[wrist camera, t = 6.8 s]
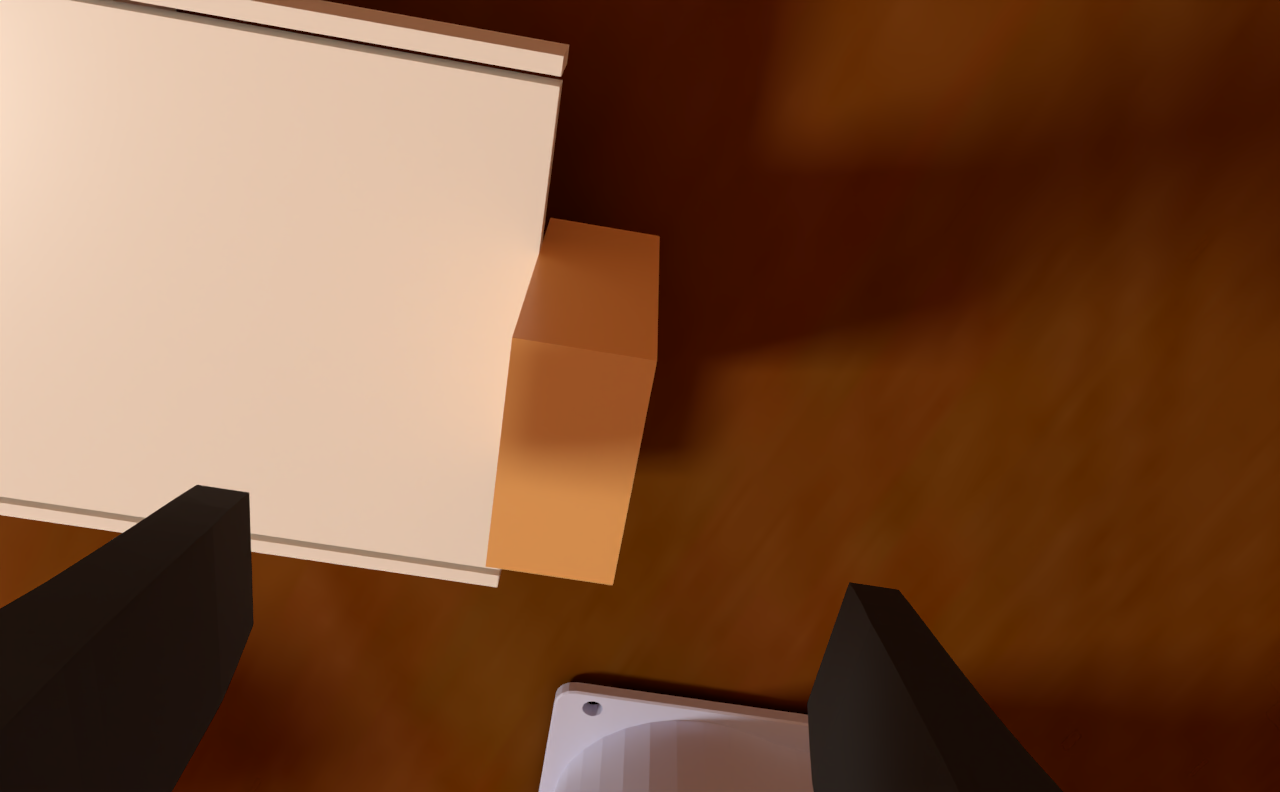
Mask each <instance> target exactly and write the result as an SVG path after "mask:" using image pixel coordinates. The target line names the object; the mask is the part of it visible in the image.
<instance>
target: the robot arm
mask: <svg viewBox="0 0 1280 792" xmlns="http://www.w3.org/2000/svg"><path fill="white" fill-rule="evenodd" d="M252 627H253V597H252V564H251V532H250V499H249V492H242V491H236V490H229V489H222V488H216V487H209V486H202V485H196V486H194V487H192V488H191V489H189V490H188V491H186V492H184V493H183V494H181V495H180V496H178V497H176V498H175V499H173V500H172V501H170V502H169V503H167V504H166V505H164V506H163V507H161V508H160V509H158V510H157V511H155V512H154V513H152V514H151V515H149V516H148V517H146V518H145V519H143V520H142V521H140V522H139V523H137V524H136V525H134V526H133V527H131V528H129V529H128V530H126V531H125V532H123V533H122V534H120V535H119V536H117V537H116V538H114V539H113V540H111V541H110V542H108V543H107V544H105V545H104V546H102V547H101V548H99V549H97V550H96V551H94V552H93V553H91V554H90V555H88V556H86V557H85V558H83V559H82V560H80V561H79V562H77V563H75V564H74V565H72V566H71V567H69V568H68V569H66V570H64V571H63V572H61V573H60V574H58V575H57V576H55V577H53V578H52V579H50V580H49V581H47V582H45V583H44V584H42V585H40V586H39V587H37V588H35V589H34V590H32V591H30V592H28V593H27V594H25V595H23V596H21V597H20V598H18V599H16V600H15V601H13V602H11V603H9V604H8V605H6V606H4V607H2V608H1V609H0V792H172V790H173V788H174V787H175V785H176V783H177V781H178V780H179V778H180V776H181V774H182V773H183V771H184V769H185V767H186V766H187V764H188V762H189V760H190V758H191V757H192V755H193V753H194V751H195V749H196V748H197V746H198V744H199V742H200V741H201V739H202V737H203V735H204V733H205V732H206V730H207V728H208V726H209V724H210V723H211V721H212V719H213V717H214V715H215V714H216V712H217V710H218V708H219V706H220V704H221V703H222V700H223V698H224V696H225V693H226V691H227V689H228V686H229V684H230V681H231V679H232V677H233V674H234V672H235V670H236V667H237V665H238V662H239V660H240V657H241V655H242V652H243V650H244V647H245V644H246V642H247V639H248V637H249V634H250V632H251V629H252ZM591 701H594V702H597V703H599V704H589V703H587V702H591ZM807 707H808V715H806V714H799V713H792V712H785V711H778V710H771V709H764V708H757V707H749V706H742V705H735V704H728V703H721V702H714V701H707V700H700V699H693V698H686V697H678V696H671V695H664V694H657V693H650V692H643V691H636V690H629V689H622V688H615V687H607V686H600V685H593V684H586V683H579V682H569V683H566V684H563V685H562V686H560V687H559V688H558V690H557V692H556V695H555V700H554V706H553V712H552V718H551V723H550V729H549V735H548V741H547V747H546V752H545V758H544V764H543V770H542V775H541V781H540V787H539V792H1063V791H1062V790H1061V789H1060V788H1059V787H1058V786H1057V785H1056V783H1055V782H1054V781H1053V780H1052V779H1051V778H1050V777H1049V776H1048V775H1047V773H1046V772H1045V771H1044V770H1043V769H1042V768H1041V767H1040V766H1039V765H1038V763H1037V762H1036V761H1035V760H1034V759H1033V758H1032V757H1031V756H1030V755H1029V753H1028V752H1027V751H1026V750H1025V749H1024V748H1023V746H1022V745H1021V744H1020V743H1019V742H1018V740H1017V739H1016V738H1015V737H1014V736H1013V735H1012V733H1011V732H1010V731H1009V730H1008V729H1007V727H1006V726H1005V725H1004V724H1003V723H1002V721H1001V720H1000V719H999V718H998V717H997V715H996V714H995V713H994V712H993V711H992V709H991V708H990V707H989V706H988V704H987V703H986V702H985V701H984V699H983V698H982V697H981V696H980V694H979V693H978V692H977V691H976V689H975V688H974V687H973V686H972V684H971V683H970V682H969V680H968V679H967V678H966V677H965V675H964V674H963V673H962V672H961V670H960V669H959V668H958V666H957V665H956V664H955V662H954V661H953V660H952V659H951V657H950V656H949V655H948V653H947V652H946V651H945V649H944V648H943V647H942V646H941V644H940V643H939V642H938V640H937V639H936V638H935V636H934V635H933V634H932V632H931V631H930V630H929V628H928V627H927V626H926V624H925V623H924V622H923V621H922V619H921V618H920V617H919V615H918V614H917V613H916V611H915V610H914V609H913V608H912V606H911V605H910V604H909V602H908V601H907V600H906V599H905V597H904V596H903V595H902V594H901V592H900V591H899V590H896V589H890V588H883V587H876V586H870V585H863V584H856V583H849V585H848V588H847V591H846V594H845V597H844V599H843V602H842V605H841V608H840V611H839V614H838V617H837V620H836V622H835V625H834V628H833V631H832V634H831V637H830V640H829V642H828V645H827V648H826V651H825V654H824V657H823V660H822V663H821V665H820V668H819V671H818V674H817V677H816V680H815V683H814V686H813V688H812V691H811V694H810V697H809V700H808V703H807Z"/></svg>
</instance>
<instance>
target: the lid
mask: <svg viewBox="0 0 1280 792" xmlns="http://www.w3.org/2000/svg"><path fill="white" fill-rule="evenodd" d="M131 1H137V2H142V3H148V4H153V5H159V6H165V7H170V8H176V9H182V10H187V11H193V12H199V13H204V14H210V15H216V16H221V17H227V18H232V19H238V20H244V21H249V22H255V23H261V24H266V25H272V26H278V27H283V28H289V29H294V30H300V31H306V32H311V33H317V34H323V35H328V36H334V37H340V38H345V39H351V40H356V41H362V42H368V43H373V44H379V45H385V46H390V47H396V48H402V49H407V50H413V51H418V52H424V53H430V54H435V55H441V56H447V57H452V58H458V59H464V60H469V61H475V62H480V63H486V64H492V65H497V66H503V67H509V68H514V69H520V70H526V71H531V72H537V73H542V74H548V75H554V76H559V77H561V76H562V74H563V72H564V69H565V67H566V65H567V60H568V52H569V45H568V44H563V43H557V42H552V41H546V40H540V39H535V38H529V37H524V36H518V35H513V34H507V33H501V32H496V31H490V30H485V29H479V28H474V27H468V26H462V25H457V24H451V23H446V22H440V21H434V20H429V19H423V18H418V17H412V16H407V15H401V14H395V13H390V12H384V11H379V10H373V9H368V8H362V7H356V6H351V5H345V4H340V3H334V2H329V1H323V0H131ZM562 83H563V80H559V79H554V78H548V77H542V76H537V75H531V74H525V73H520V72H514V71H508V70H503V69H497V68H491V67H486V66H480V65H475V64H469V63H463V62H458V61H452V60H446V59H441V58H435V57H429V56H424V55H418V54H412V53H407V52H401V51H396V50H390V49H384V48H379V47H373V46H367V45H362V44H356V43H350V42H345V41H339V40H333V39H328V38H322V37H317V36H311V35H305V34H300V33H294V32H288V31H283V30H277V29H271V28H266V27H260V26H254V25H249V24H243V23H238V22H232V21H226V20H221V19H215V18H209V17H204V16H198V15H192V14H187V13H181V12H175V11H170V10H164V9H159V8H153V7H147V6H142V5H136V4H130V3H125V2H119V1H113V0H0V515H5V516H11V517H18V518H25V519H32V520H39V521H46V522H53V523H59V524H66V525H73V526H80V527H87V528H94V529H100V530H107V531H114V532H121V533H123V532H125V531H126V530H128V529H129V528H131V527H133V526H134V525H136V524H137V523H139V522H140V521H142V520H143V519H145V518H146V517H148V516H149V515H151V514H152V513H154V512H155V511H157V510H158V509H160V508H161V507H163V506H164V505H166V504H167V503H169V502H170V501H172V500H173V499H175V498H176V497H178V496H180V495H181V494H183V493H184V492H186V491H188V490H189V489H191V488H192V487H194V486H196V485H202V486H209V487H216V488H222V489H229V490H236V491H242V492H249V499H250V532H251V552H258V553H265V554H272V555H279V556H286V557H292V558H299V559H306V560H313V561H320V562H327V563H334V564H340V565H347V566H354V567H361V568H368V569H375V570H382V571H388V572H395V573H402V574H409V575H416V576H423V577H430V578H436V579H443V580H450V581H457V582H464V583H471V584H478V585H484V586H491V587H498V582H499V578H500V574H501V569H505V570H512V571H519V572H526V573H532V574H539V575H546V576H553V577H560V578H566V579H573V580H580V581H587V582H594V583H600V584H607V585H613V581H614V576H615V571H616V566H617V561H618V556H619V551H620V546H621V541H622V536H623V531H624V526H625V521H626V516H627V511H628V506H629V501H630V496H631V491H632V486H633V480H634V475H635V470H636V465H637V460H638V455H639V450H640V445H641V440H642V435H643V430H644V425H645V420H646V415H647V410H648V405H649V400H650V395H651V390H652V385H653V380H654V374H655V369H656V364H657V345H658V296H659V247H660V236H657V235H651V234H645V233H639V232H633V231H627V230H621V229H615V228H609V227H603V226H597V225H591V224H586V223H580V222H574V221H568V220H562V219H556V218H550V220H549V224H548V227H547V230H546V233H545V236H544V239H543V234H544V226H545V218H546V210H547V202H548V194H549V186H550V178H551V170H552V162H553V155H554V147H555V139H556V131H557V123H558V115H559V107H560V99H561V91H562Z"/></svg>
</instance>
